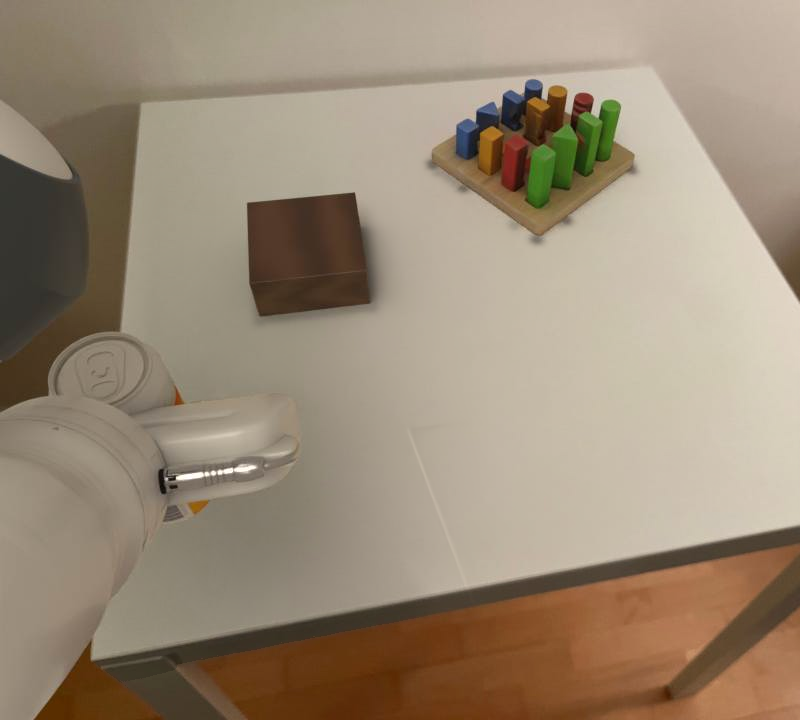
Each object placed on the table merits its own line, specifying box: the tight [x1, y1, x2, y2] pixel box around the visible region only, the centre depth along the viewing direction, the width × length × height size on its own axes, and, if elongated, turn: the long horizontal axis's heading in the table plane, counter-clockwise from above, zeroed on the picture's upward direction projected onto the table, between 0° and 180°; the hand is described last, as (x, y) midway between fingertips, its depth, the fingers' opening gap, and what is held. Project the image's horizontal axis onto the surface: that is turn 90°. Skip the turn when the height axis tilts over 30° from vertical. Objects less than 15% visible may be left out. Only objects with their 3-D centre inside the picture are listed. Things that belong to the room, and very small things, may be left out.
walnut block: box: [246, 192, 371, 317], centre depth 75 cm, size 11×11×5 cm
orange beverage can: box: [47, 331, 211, 526], centre depth 46 cm, size 6×6×15 cm
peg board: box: [431, 78, 636, 236], centre depth 85 cm, size 18×17×9 cm
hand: (138, 421), depth 46 cm, fingers closed on orange beverage can, 6 cm apart
